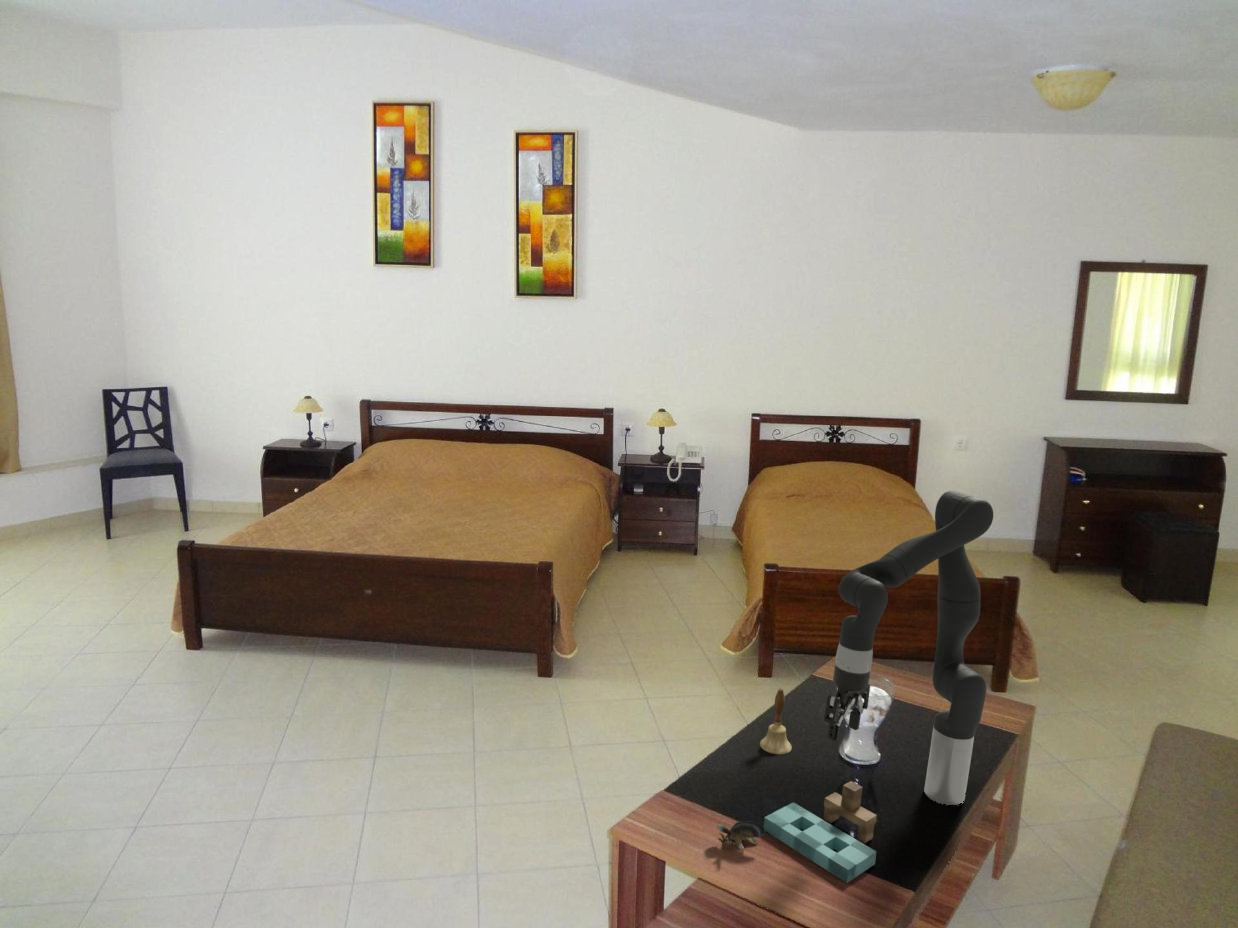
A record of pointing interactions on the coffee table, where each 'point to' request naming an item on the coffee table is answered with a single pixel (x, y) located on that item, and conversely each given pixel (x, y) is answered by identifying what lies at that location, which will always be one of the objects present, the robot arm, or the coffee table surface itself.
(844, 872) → the teal block with holes
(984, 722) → the coffee table surface
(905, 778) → the coffee table surface
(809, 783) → the coffee table surface
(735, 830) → the brown animal figure
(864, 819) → the wooden forked block
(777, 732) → the hand bell
